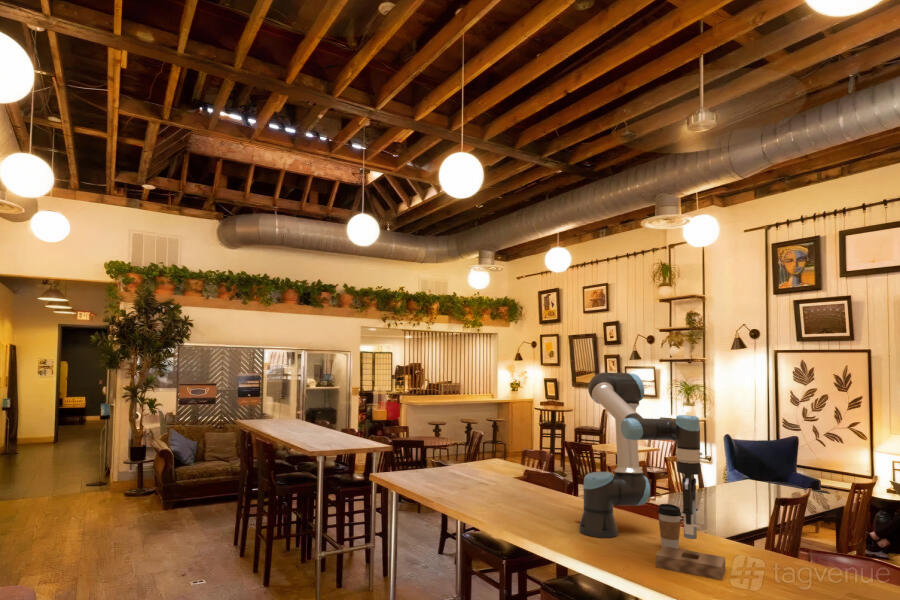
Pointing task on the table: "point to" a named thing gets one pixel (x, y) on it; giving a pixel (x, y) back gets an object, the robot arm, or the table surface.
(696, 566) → the board
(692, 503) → the peg
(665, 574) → the table surface
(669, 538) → the coffee cup
